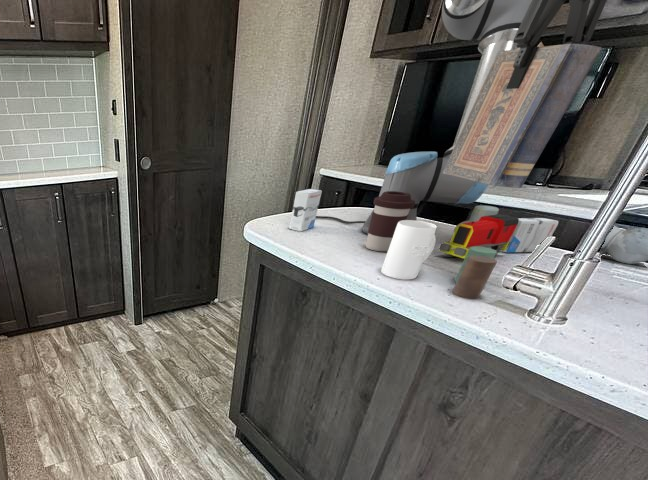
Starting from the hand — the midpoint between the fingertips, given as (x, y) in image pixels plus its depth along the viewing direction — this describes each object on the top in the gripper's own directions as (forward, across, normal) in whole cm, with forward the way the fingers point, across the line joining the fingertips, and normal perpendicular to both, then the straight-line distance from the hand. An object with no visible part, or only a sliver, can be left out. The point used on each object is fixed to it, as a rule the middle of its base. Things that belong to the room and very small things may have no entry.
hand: (529, 88), depth 81 cm
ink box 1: (+38, -22, +42) cm, 61 cm away
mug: (+38, -14, -2) cm, 40 cm away
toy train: (+38, +13, +9) cm, 41 cm away
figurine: (+33, +48, +7) cm, 59 cm away
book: (+18, -2, 0) cm, 18 cm away
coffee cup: (+38, -8, +18) cm, 43 cm away
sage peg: (+38, -3, -10) cm, 39 cm away
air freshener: (+38, +23, +21) cm, 49 cm away
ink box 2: (+33, +25, +12) cm, 43 cm away
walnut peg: (+38, -8, -16) cm, 42 cm away
